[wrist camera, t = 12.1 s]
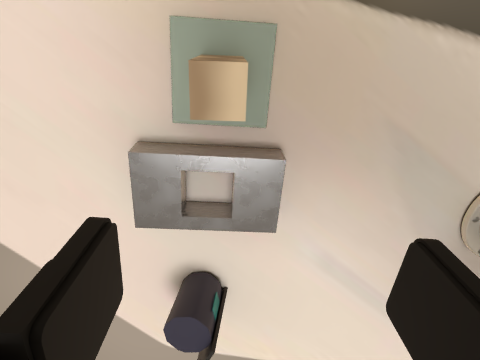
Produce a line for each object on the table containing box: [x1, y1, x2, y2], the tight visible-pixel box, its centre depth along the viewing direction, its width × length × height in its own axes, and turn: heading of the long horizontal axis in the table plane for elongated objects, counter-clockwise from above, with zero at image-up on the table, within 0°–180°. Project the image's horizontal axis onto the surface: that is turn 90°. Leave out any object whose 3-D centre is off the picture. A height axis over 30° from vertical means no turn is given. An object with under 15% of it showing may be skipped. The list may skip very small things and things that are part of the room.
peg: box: [188, 55, 248, 121], centre depth 25 cm, size 4×4×10 cm
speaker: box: [164, 272, 228, 360], centre depth 38 cm, size 8×6×10 cm
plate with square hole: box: [128, 142, 286, 233], centre depth 34 cm, size 16×9×4 cm, turn 86°
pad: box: [170, 16, 277, 128], centre depth 30 cm, size 10×10×1 cm
